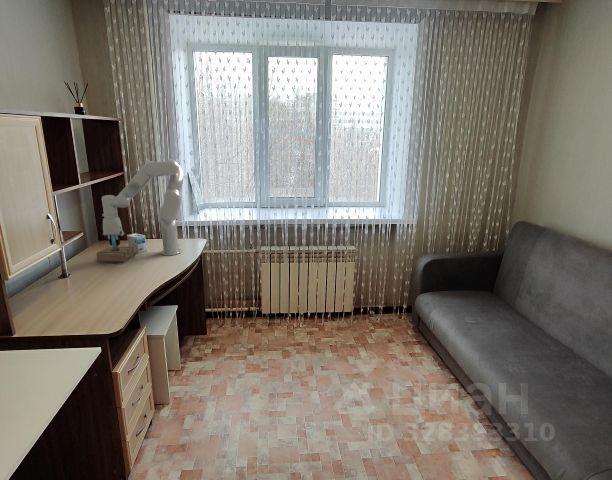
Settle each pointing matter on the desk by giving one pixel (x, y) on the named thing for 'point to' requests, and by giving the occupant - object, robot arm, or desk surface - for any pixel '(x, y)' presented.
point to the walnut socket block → (116, 254)
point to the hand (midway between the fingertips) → (115, 244)
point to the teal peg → (114, 242)
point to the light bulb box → (137, 242)
